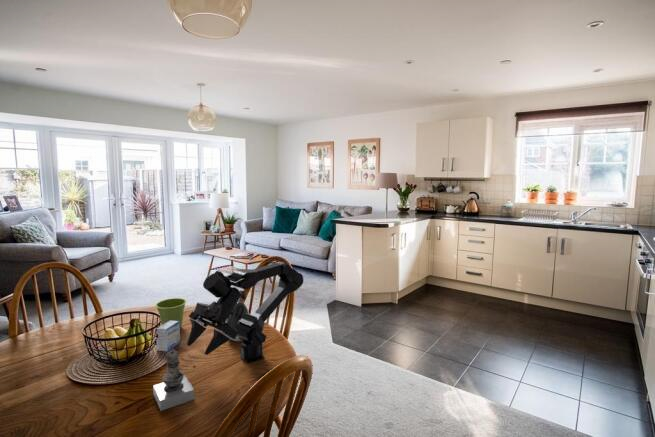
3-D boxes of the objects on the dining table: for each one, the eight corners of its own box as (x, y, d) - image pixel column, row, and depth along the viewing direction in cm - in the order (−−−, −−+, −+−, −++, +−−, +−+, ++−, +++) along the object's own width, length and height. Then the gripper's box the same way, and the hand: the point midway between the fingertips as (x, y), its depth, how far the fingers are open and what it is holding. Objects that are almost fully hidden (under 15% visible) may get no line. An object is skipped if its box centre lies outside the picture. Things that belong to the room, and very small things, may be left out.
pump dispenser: (220, 339, 142) (219, 301, 140) (241, 330, 150) (241, 295, 148) (235, 347, 135) (234, 308, 134) (257, 338, 143) (256, 301, 142)
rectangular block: (185, 384, 111) (185, 375, 111) (194, 399, 104) (193, 389, 103) (153, 395, 106) (153, 385, 105) (160, 411, 98) (160, 400, 98)
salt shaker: (161, 385, 105) (160, 346, 104) (183, 379, 108) (181, 341, 107) (164, 395, 100) (162, 355, 99) (186, 389, 103) (184, 350, 102)
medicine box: (167, 352, 131) (166, 329, 130) (156, 350, 132) (155, 328, 131) (180, 342, 139) (179, 320, 138) (170, 341, 140) (169, 319, 139)
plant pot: (167, 322, 158) (166, 297, 157) (192, 323, 156) (191, 298, 155) (150, 333, 146) (149, 307, 145) (177, 335, 145) (176, 308, 143)
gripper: (192, 286, 117) (161, 330, 110) (228, 298, 106) (196, 348, 99) (214, 302, 124) (186, 344, 117) (250, 315, 113) (221, 363, 106)
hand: (196, 349), depth 110 cm, fingers open, 9 cm apart
